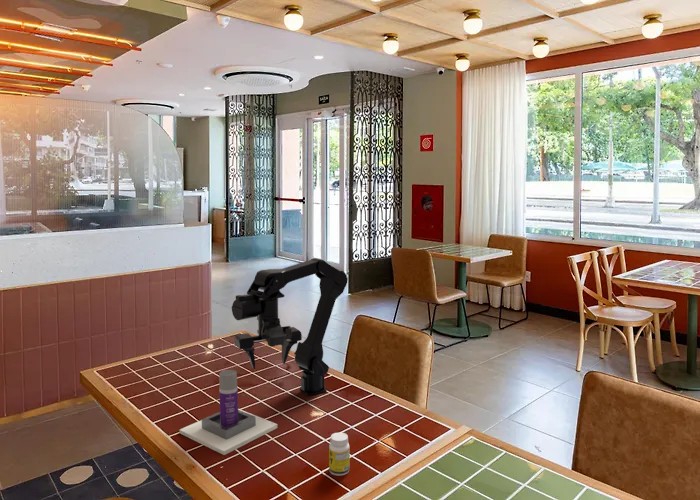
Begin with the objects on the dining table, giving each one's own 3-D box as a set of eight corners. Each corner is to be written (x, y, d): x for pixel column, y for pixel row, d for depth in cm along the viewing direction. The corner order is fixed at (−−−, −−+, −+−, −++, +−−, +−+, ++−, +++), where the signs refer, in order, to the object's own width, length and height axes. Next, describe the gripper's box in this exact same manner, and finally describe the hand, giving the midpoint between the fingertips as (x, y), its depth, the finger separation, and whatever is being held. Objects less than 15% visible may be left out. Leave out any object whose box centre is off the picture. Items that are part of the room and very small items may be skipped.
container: (227, 432, 139) (226, 377, 137) (216, 426, 142) (215, 372, 140) (242, 426, 143) (240, 372, 141) (231, 420, 146) (229, 368, 144)
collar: (231, 415, 149) (231, 406, 149) (255, 425, 143) (255, 416, 143) (201, 428, 141) (201, 419, 141) (226, 439, 135) (226, 430, 135)
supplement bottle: (328, 465, 126) (328, 431, 125) (348, 464, 126) (348, 430, 125) (329, 476, 121) (329, 441, 120) (350, 476, 121) (350, 441, 120)
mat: (233, 409, 155) (233, 406, 155) (277, 427, 144) (277, 424, 144) (179, 433, 141) (179, 429, 141) (224, 455, 130) (224, 451, 130)
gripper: (245, 325, 143) (246, 381, 145) (309, 316, 152) (309, 369, 154) (233, 315, 153) (234, 368, 155) (294, 308, 161) (294, 358, 164)
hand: (269, 366), depth 157 cm, fingers open, 9 cm apart
